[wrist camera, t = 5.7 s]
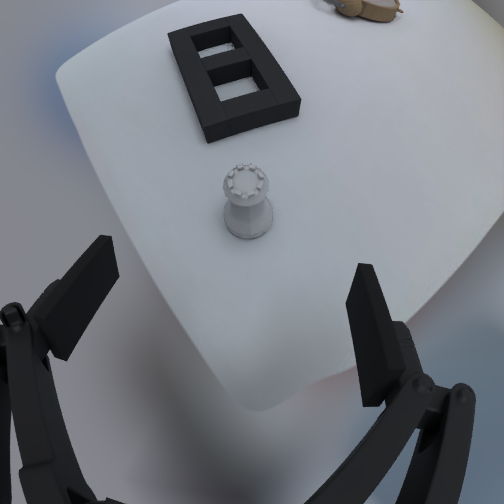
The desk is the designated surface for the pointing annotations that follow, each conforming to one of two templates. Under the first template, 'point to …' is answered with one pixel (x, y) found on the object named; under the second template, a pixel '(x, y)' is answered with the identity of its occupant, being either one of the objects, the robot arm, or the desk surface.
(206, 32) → the socket pad
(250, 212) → the rook chess piece
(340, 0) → the alarm clock
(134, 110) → the desk surface
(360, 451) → the robot arm
